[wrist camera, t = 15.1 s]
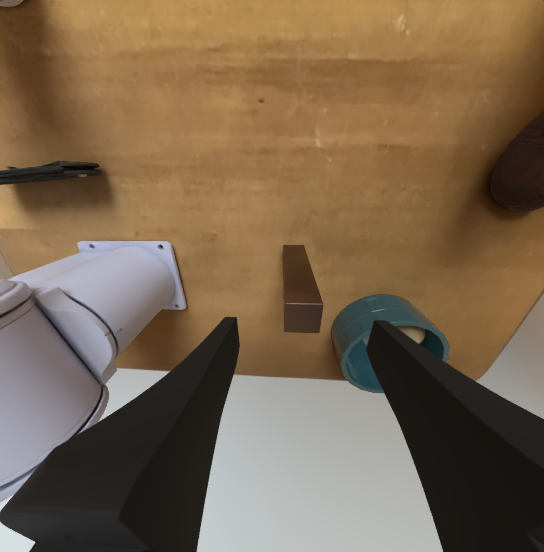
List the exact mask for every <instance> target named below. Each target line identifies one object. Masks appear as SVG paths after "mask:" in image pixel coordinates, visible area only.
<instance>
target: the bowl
mask: <svg viewBox="0 0 544 552" xmlns="http://www.w3.org/2000/svg"><path fill="white" fill-rule="evenodd" d="M374 320H386V321H388V322H389V323H391V324H392V325H394V326H417V327H421V328H424V329H425V337H424V339H423V341H422V342H421V343H419V344H420V345H421V346H422V347H424V348H425V349H427V350H428V351H430V352H431V353H432V354H434V355H435V356H437V357H438V358H440V359H441V360H443V361H444V362H446V361H447V359H448V357H449V347H450V346H449V343H448V341H447V339H446V337H445V335H444V334H443V333H442V332H441V331H440V330H439V329H438V328H437V327H436V326H435V325H434V324H433V323H432V322H431V321H430V320H429V319H428V318H427V317H426V316H425V315H423V314H422V313H421V312H420V311H419V310H418V309H417V308H416V307H414V306H413V305H412V304H411V303H410V302H409V301H407V300H405V299H403V298H401V297H398V296H393V295H373V296H368V297H365V298H362V299H359V300H357V301H355V302H353V303H352V304H350V305H348V306H347V307H346V308H345V309H343V310H342V311H341V312H340V314H339V315H338V316H337V318H336V319H335V321H334V323H333V326H332V331H331V335H332V340H333V344H334V348H335V351H336V354H337V357H338V360H339V364H340V367H341V370H342V373H343V375H344V377H345V378H346V379H347V380H348V381H349V383H351V384H352V385H354V386H355V387H357V388H359V389H361V390H365V391H369V392H373V393H384V391H383V389H382V387H381V385H380V383H379V381H378V379H377V377H376V375H375V373H374V371H373V368H372V366H371V363H370V360H369V357H368V354H367V351H366V347H367V343H368V340H369V336H370V333H371V329H372V326H373V322H374Z"/></svg>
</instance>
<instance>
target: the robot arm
mask: <svg viewBox="0 0 544 552" xmlns="http://www.w3.org/2000/svg"><path fill="white" fill-rule="evenodd" d="M77 245H78V248H79V250H80V253H77V254H74V255H72V256H69V257H66V258H63V259H61V260H58V261H55V262H52V263H50V264H47V265H44V266H41V267H39V268H36V269H33V270H30V271H28V272H25V273H22V274H20V275H17V276H15V277H13V278H11V279H9V280H5V279H0V502H2V501H3V500H5V499H7V498H8V497H10V496H12V495H14V496H13V497H12V498H11V499H10V500H9V502H8V503H7V504H6V505H5V506H4V507H3V509H2V510H1V512H0V522H1V523H2V524H4V525H5V526H7V527H8V528H10V529H12V530H14V531H15V532H18V533H19V534H22V535H23V536H25V537H27V538H29V539H31V540H33V541H35V542H36V543H35V544H34V546H33V547H32V549H31V550H30V551H29V552H197V545H198V539H199V533H200V527H201V521H202V515H203V509H204V503H205V497H206V492H207V486H208V481H209V475H210V469H211V465H212V459H213V454H214V449H215V444H216V439H217V434H218V429H219V424H220V420H221V416H222V412H223V408H224V404H225V401H226V398H227V394H228V391H229V387H230V384H231V381H232V378H233V374H234V371H235V367H236V364H237V358H238V353H239V347H240V344H239V335H238V326H237V317H225V318H224V319H223V320H222V321H221V322H220V323H219V324H218V325H217V326H216V328H215V329H214V330H213V331H212V332H211V333H210V334H209V335H208V336H207V337H206V338H205V340H204V341H203V342H202V343H201V344H200V345H199V346H198V347H197V348H196V349H195V350H194V351H193V352H192V353H191V354H189V355H188V356H187V357H186V358H185V359H184V360H183V361H182V362H181V363H180V364H179V365H178V366H176V367H175V368H174V369H173V370H172V371H171V372H169V373H168V374H167V375H166V376H164V377H163V378H162V379H161V380H159V381H158V382H157V383H155V384H154V385H153V386H151V387H150V388H149V389H147V390H146V391H144V392H143V393H142V394H140V395H139V396H138V397H136V398H135V399H133V400H132V401H130V402H129V403H127V404H126V405H124V406H123V407H122V408H120V409H118V410H117V411H115V412H114V413H112V414H111V415H109V416H107V417H106V418H104V419H103V420H101V421H99V420H100V418H101V416H102V415H103V413H104V410H105V408H106V406H107V403H108V399H109V392H108V388H107V386H106V385H105V384H106V382H107V381H108V380H109V379H110V378H111V377H112V375H113V374H114V373H115V372H116V371H117V369H116V367H115V365H114V360H115V359H116V358H117V357H118V356H119V355H120V354H121V353H122V352H123V351H124V349H125V348H126V347H127V346H128V345H129V344H130V343H131V342H132V341H133V340H134V339H135V338H136V336H137V335H138V334H139V333H140V332H141V331H142V330H143V329H144V328H145V327H146V326H147V324H148V323H149V322H150V321H151V320H152V319H153V318H154V317H155V316H156V315H157V314H158V313H159V311H160V310H161V309H170V310H184V309H185V308H186V306H187V304H186V300H185V296H184V292H183V288H182V284H181V280H180V276H179V272H178V267H177V263H176V259H175V255H174V251H173V247H172V244H171V243H170V242H167V241H81V242H78V244H77ZM93 245H94V247H93ZM160 245H162V246H163V248H161V247H160ZM176 304H177V305H178V306H177V305H176ZM366 351H367V354H368V357H369V360H370V363H371V366H372V368H373V371H374V373H375V375H376V377H377V379H378V381H379V383H380V385H381V387H382V389H383V391H384V393H385V395H386V397H387V399H388V401H389V404H390V406H391V408H392V410H393V412H394V414H395V416H396V418H397V420H398V423H399V424H400V427H401V430H402V432H403V435H404V437H405V440H406V442H407V445H408V448H409V450H410V453H411V456H412V458H413V461H414V464H415V467H416V469H417V472H418V475H419V478H420V481H421V483H422V486H423V489H424V492H425V495H426V498H427V501H428V504H429V507H430V510H431V513H432V516H433V520H434V523H435V526H436V529H437V533H438V536H439V539H440V542H441V545H442V549H443V552H544V419H542V418H540V417H538V416H536V415H534V414H533V413H531V412H529V411H527V410H525V409H523V408H521V407H520V406H517V405H516V404H514V403H512V402H510V401H508V400H506V399H505V398H503V397H501V396H499V395H498V394H496V393H494V392H492V391H490V390H489V389H487V388H485V387H484V386H482V385H480V384H479V383H477V382H475V381H474V380H472V379H470V378H469V377H467V376H466V375H464V374H462V373H461V372H459V371H458V370H456V369H455V368H453V367H452V366H450V365H449V364H447V363H446V362H444V361H443V360H441V359H440V358H438V357H437V356H435V355H434V354H432V353H431V352H430V351H428V350H427V349H425V348H424V347H422V346H421V345H420V344H418V343H417V342H416V341H414V340H413V339H412V338H410V337H409V336H407V335H406V334H405V333H403V332H402V331H401V330H399V329H398V328H397V327H395V326H394V325H392V324H391V323H389V322H388V321H386V320H374V322H373V326H372V329H371V333H370V336H369V340H368V343H367V347H366ZM98 421H99V422H98Z"/></svg>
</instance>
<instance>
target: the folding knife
mask: <svg viewBox="0 0 544 552" xmlns="http://www.w3.org/2000/svg"><path fill="white" fill-rule="evenodd" d="M97 167H100V166H99V165H98V164H97V163H88V162H65V161H57V162H53V163H50V164H46V165H42V166H38V167H28V168H20V169H18V168H15V167H7V168H8V169H10V170H2V171H0V185H3V184H17V183H28V182H38V181H47V180H56V179H65V178H74V177H86V176H92V175H99V174H101V173H102V172H101V171H97V170H95V169H94V168H97Z"/></svg>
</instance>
